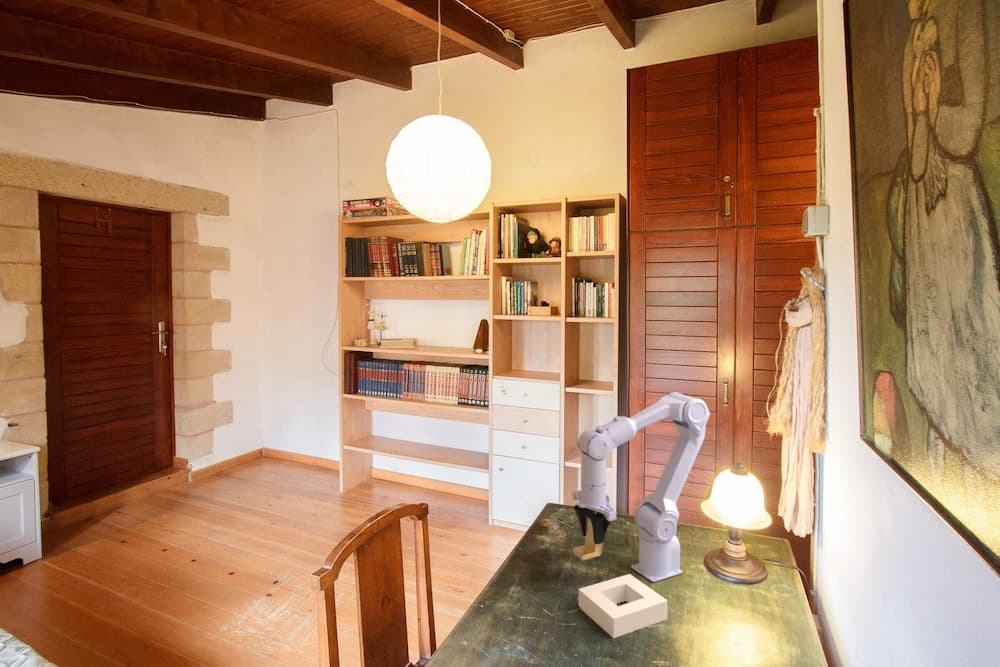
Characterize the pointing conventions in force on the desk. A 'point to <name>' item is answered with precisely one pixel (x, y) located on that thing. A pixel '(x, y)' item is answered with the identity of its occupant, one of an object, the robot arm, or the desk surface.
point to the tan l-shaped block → (588, 543)
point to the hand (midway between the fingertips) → (592, 539)
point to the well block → (625, 618)
